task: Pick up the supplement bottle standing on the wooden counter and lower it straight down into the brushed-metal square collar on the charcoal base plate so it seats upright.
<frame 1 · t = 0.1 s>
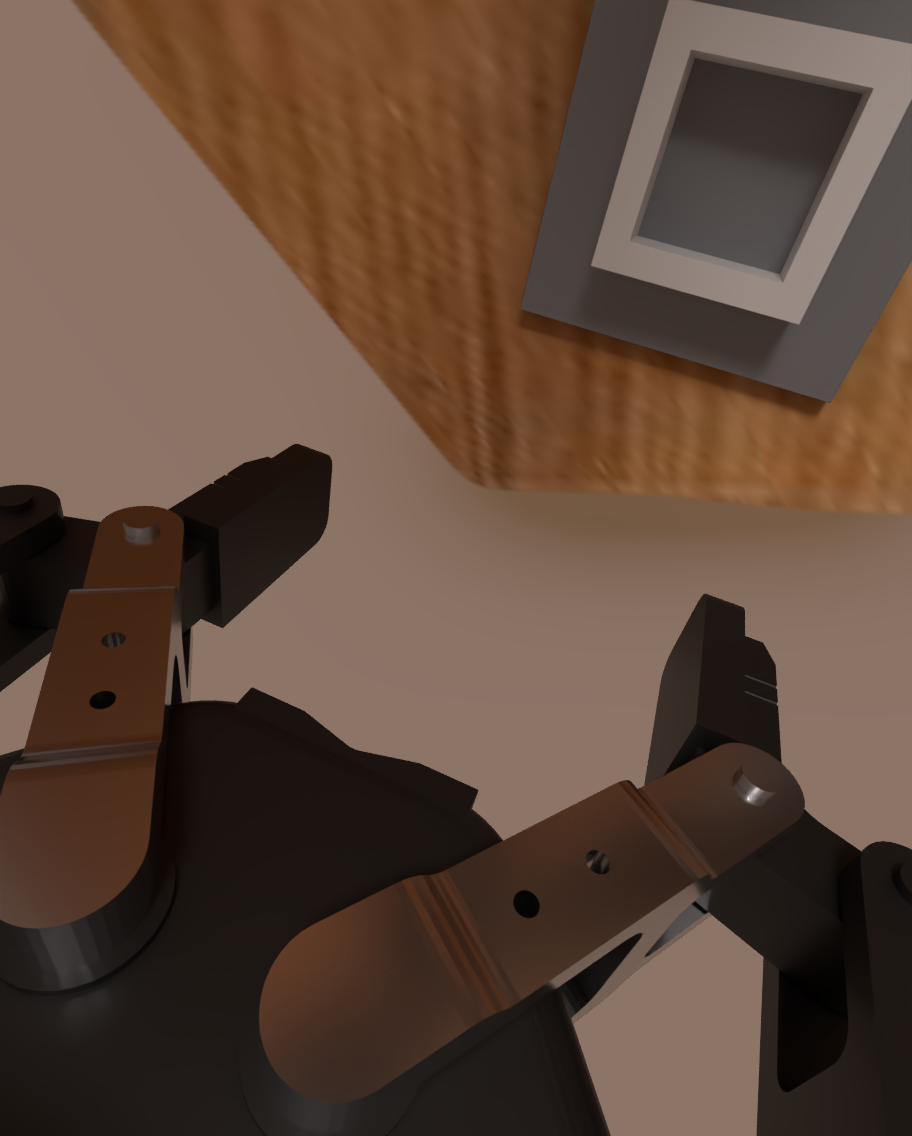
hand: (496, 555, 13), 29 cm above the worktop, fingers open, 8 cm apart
collar plate: (739, 171, 32), on the worktop
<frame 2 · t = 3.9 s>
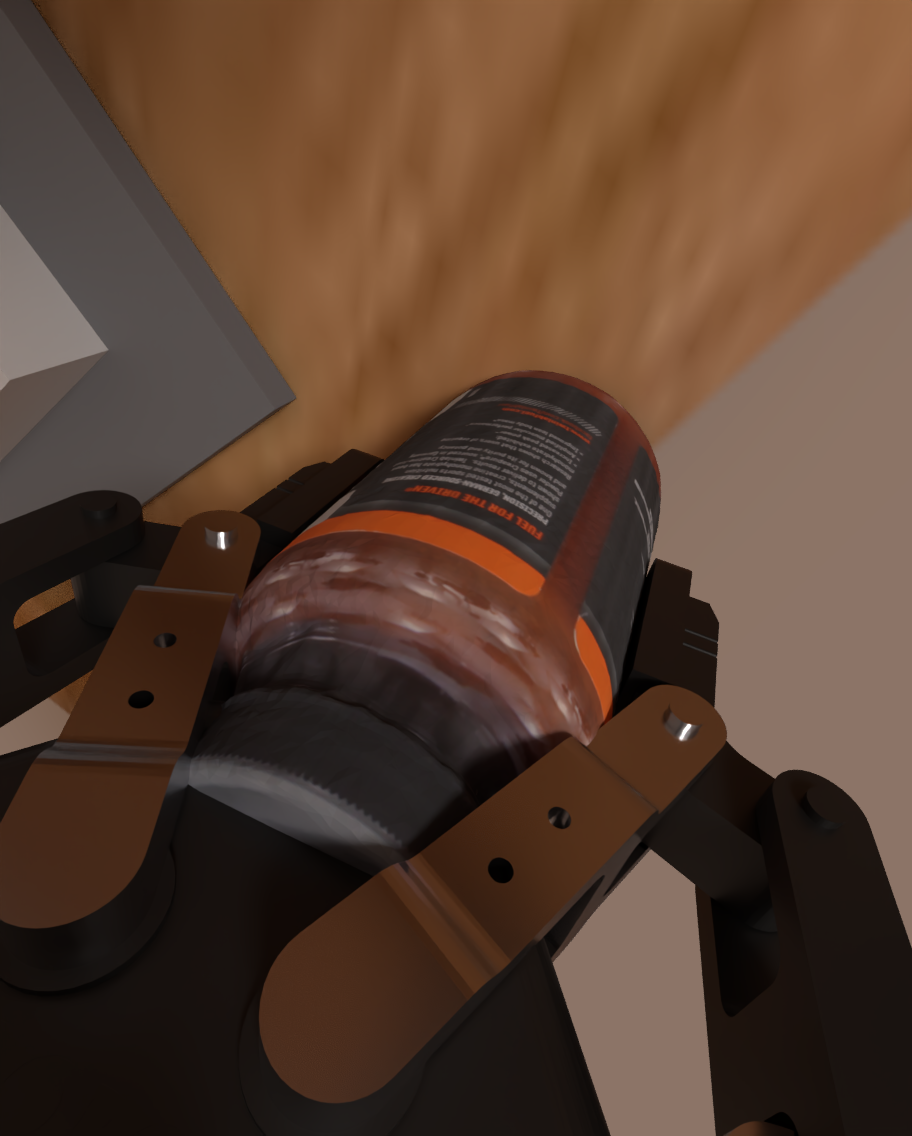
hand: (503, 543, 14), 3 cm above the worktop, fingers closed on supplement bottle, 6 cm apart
supplement bottle: (543, 480, 16), on the worktop, touching gripper
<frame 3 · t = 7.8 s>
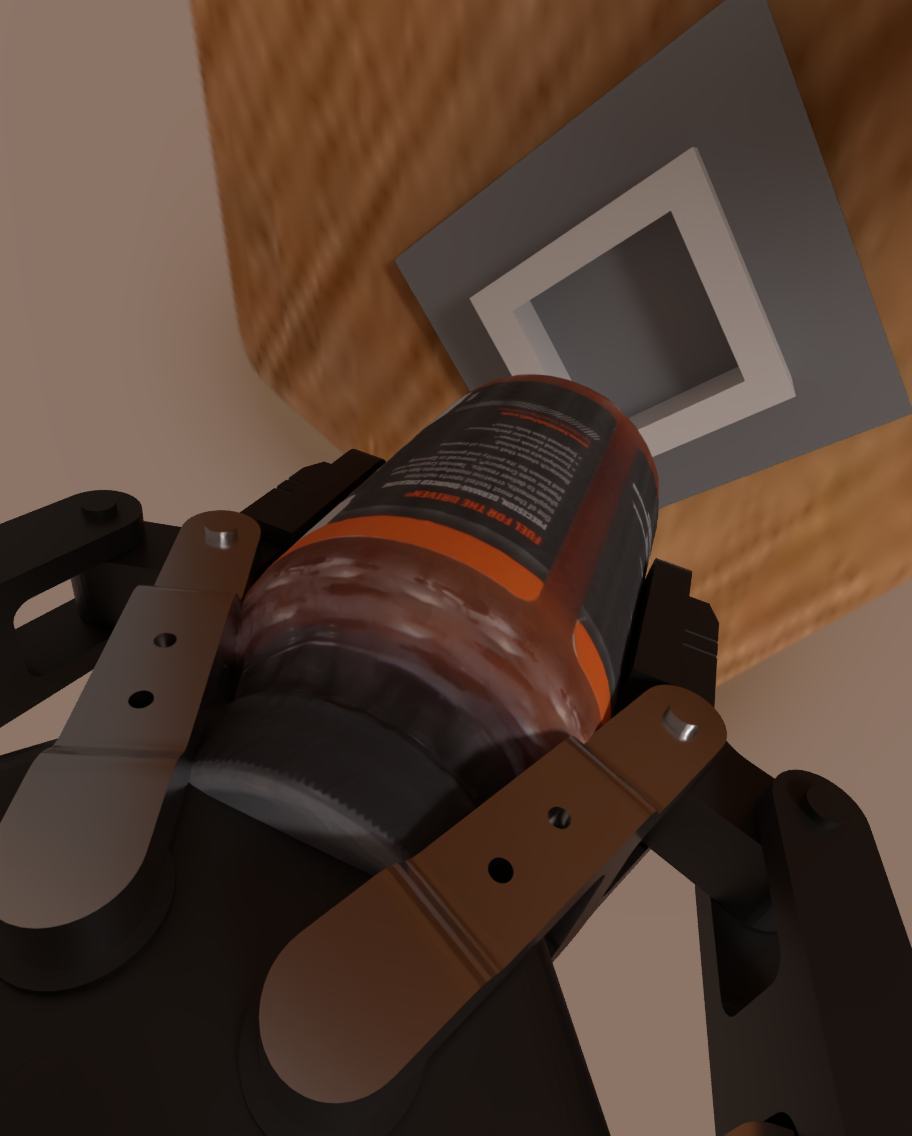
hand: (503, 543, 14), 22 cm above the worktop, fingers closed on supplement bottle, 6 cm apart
supplement bottle: (542, 483, 16), point 19 cm above the worktop, touching gripper
collar plate: (636, 326, 31), on the worktop
when the fingers open (5 cm above the worktop, at t = 11.9 s): supplement bottle drops 1 cm, resting on collar plate.
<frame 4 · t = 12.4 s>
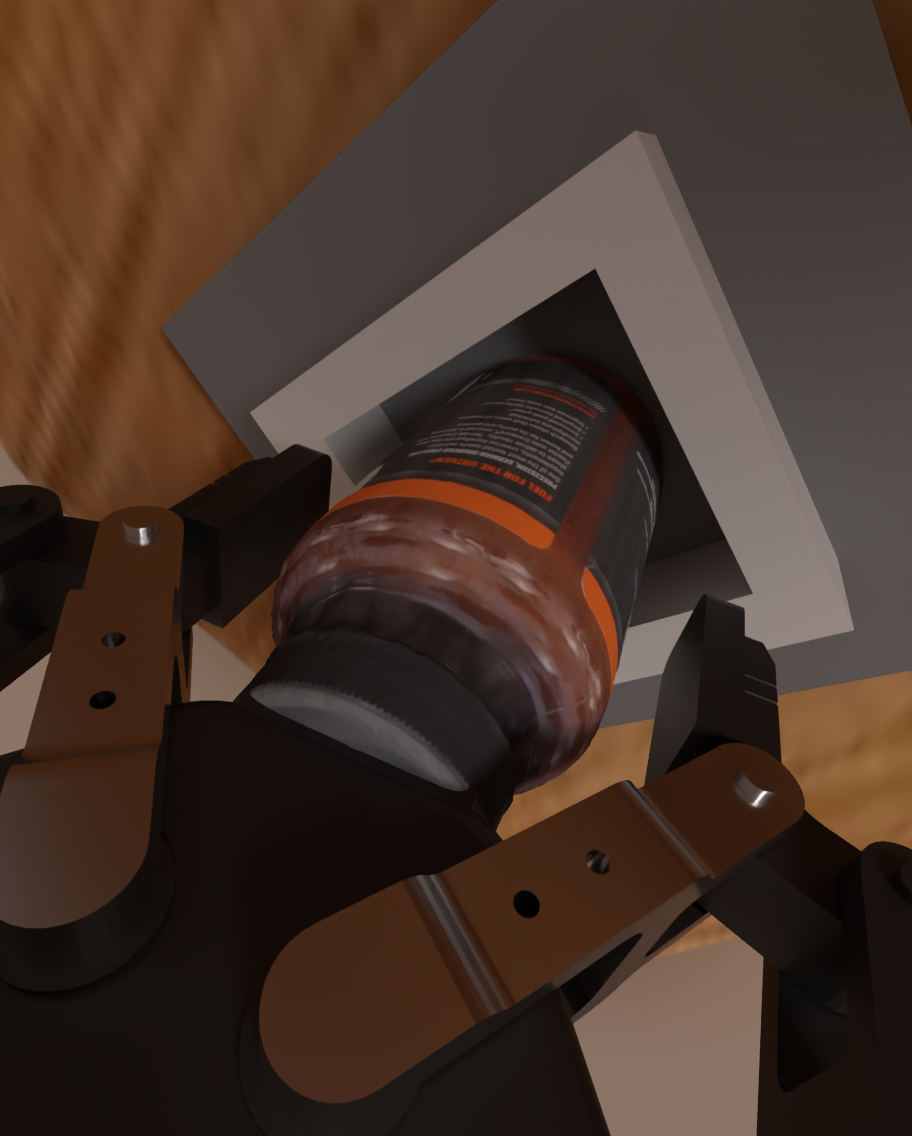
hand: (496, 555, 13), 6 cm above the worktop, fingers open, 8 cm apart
supplement bottle: (553, 458, 17), point 1 cm above the worktop, touching collar plate
collar plate: (562, 449, 18), on the worktop
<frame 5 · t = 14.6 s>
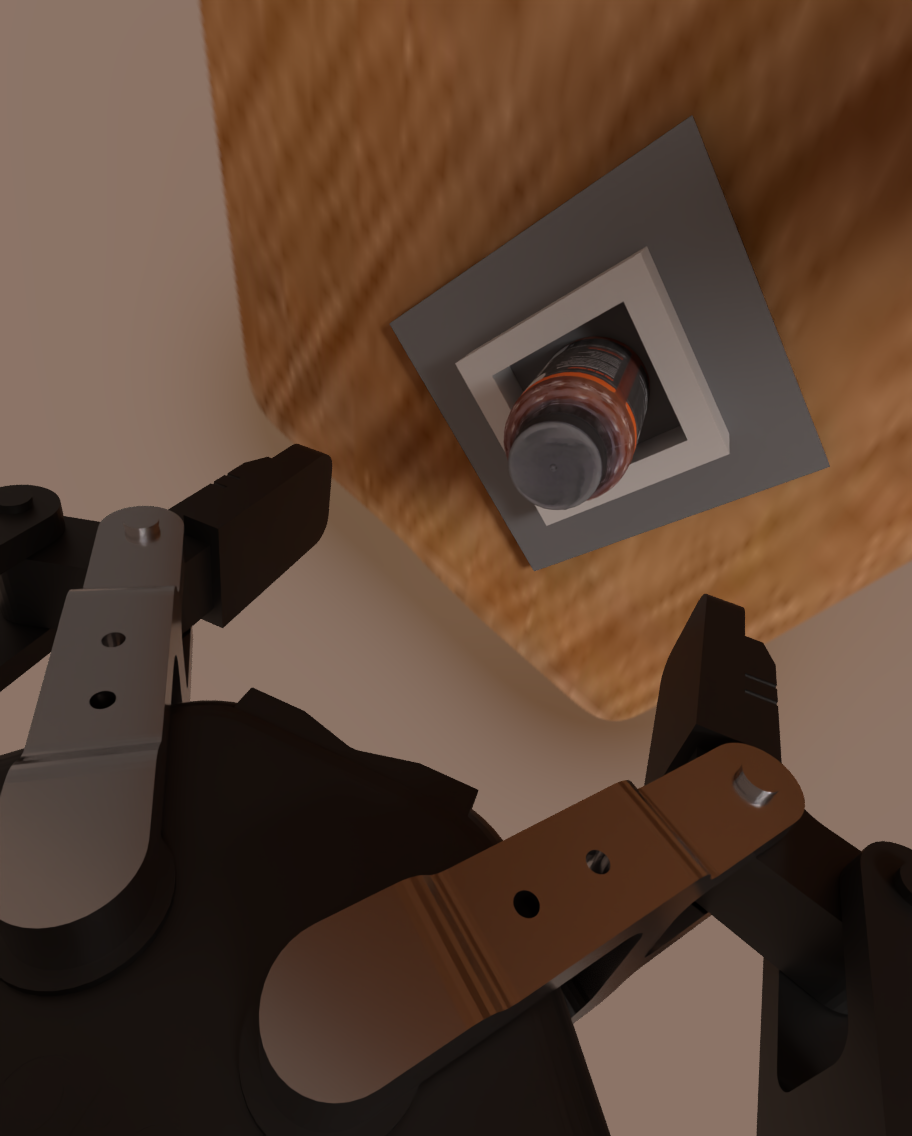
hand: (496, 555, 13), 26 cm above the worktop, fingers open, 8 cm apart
supplement bottle: (596, 388, 36), point 1 cm above the worktop, touching collar plate
collar plate: (599, 385, 36), on the worktop
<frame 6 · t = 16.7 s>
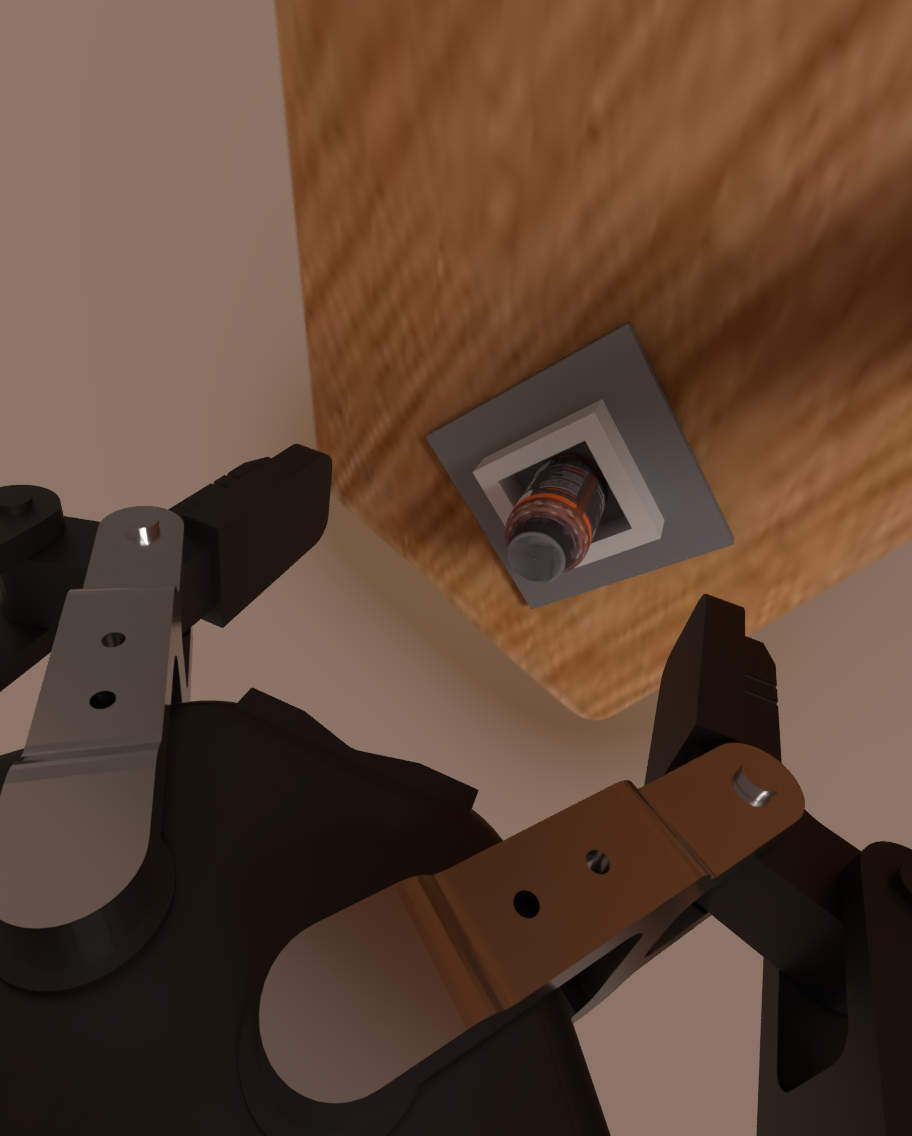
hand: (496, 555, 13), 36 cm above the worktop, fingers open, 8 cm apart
supplement bottle: (572, 486, 50), point 1 cm above the worktop, touching collar plate
collar plate: (574, 482, 51), on the worktop
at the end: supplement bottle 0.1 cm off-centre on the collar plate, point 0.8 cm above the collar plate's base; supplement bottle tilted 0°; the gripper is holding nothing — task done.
